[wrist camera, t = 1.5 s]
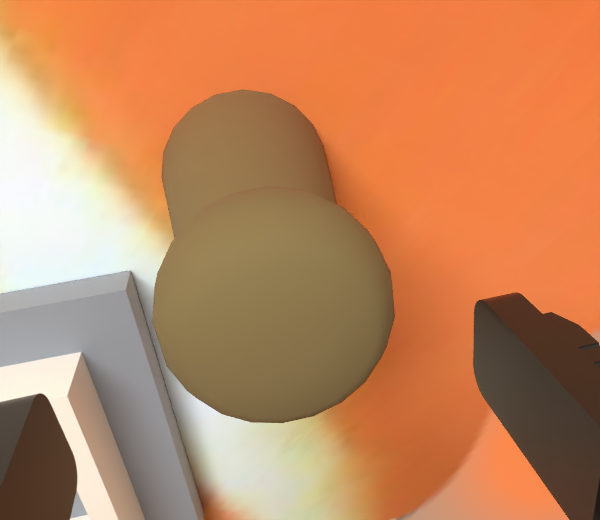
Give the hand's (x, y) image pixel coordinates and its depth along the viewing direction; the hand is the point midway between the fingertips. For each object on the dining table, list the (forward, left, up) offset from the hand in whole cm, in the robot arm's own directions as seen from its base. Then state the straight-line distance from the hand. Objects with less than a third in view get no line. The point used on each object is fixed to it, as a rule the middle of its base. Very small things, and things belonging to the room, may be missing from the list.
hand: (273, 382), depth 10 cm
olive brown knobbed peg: (0, 0, -12) cm, 12 cm away
